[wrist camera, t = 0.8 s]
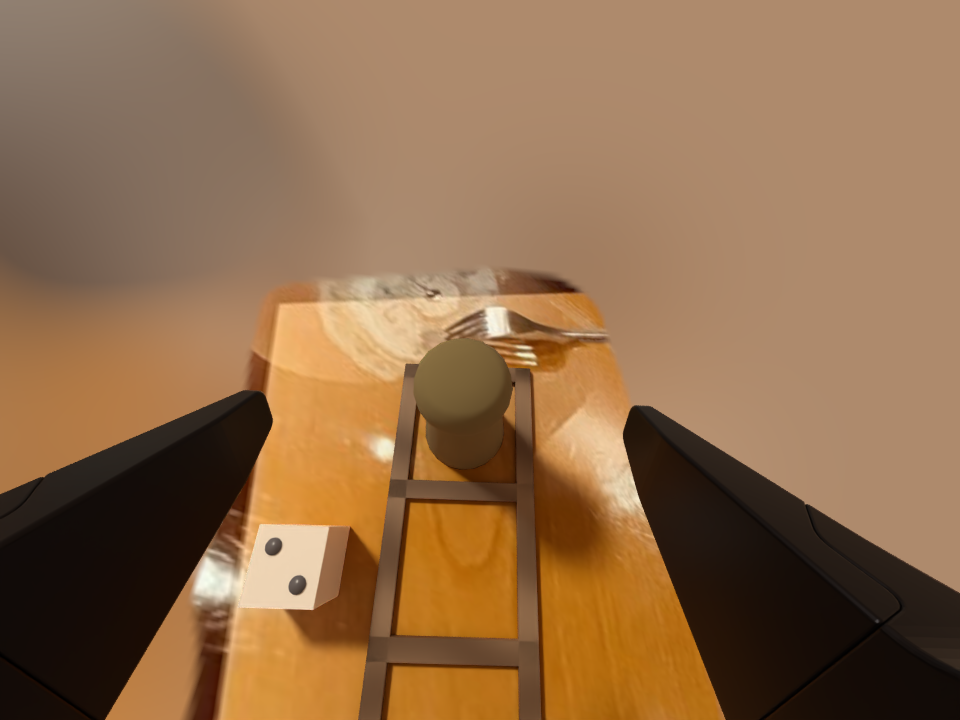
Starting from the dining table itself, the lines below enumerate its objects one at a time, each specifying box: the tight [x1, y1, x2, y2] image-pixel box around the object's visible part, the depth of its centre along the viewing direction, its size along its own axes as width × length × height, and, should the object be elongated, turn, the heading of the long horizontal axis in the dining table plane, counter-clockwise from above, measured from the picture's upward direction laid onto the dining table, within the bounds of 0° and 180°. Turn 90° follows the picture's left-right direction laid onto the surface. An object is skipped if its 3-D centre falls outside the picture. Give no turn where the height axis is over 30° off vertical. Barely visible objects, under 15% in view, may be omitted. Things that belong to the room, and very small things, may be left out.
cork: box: [413, 338, 513, 469], centre depth 22 cm, size 6×6×11 cm
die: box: [238, 524, 350, 610], centre depth 21 cm, size 4×4×4 cm
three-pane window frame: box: [358, 364, 541, 720], centre depth 23 cm, size 28×10×1 cm, turn 178°
